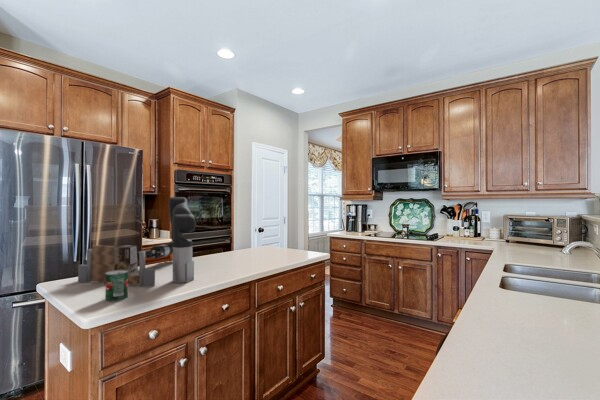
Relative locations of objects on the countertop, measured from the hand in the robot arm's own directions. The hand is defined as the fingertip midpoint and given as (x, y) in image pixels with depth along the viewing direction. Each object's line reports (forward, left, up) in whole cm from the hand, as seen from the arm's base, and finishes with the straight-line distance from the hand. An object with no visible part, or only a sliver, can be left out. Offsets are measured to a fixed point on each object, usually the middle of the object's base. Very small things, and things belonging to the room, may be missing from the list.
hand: (140, 256), depth 165 cm
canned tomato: (-23, +40, -9) cm, 47 cm away
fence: (-5, +22, -9) cm, 24 cm away
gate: (-5, +22, -9) cm, 24 cm away
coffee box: (0, +10, -9) cm, 14 cm away
